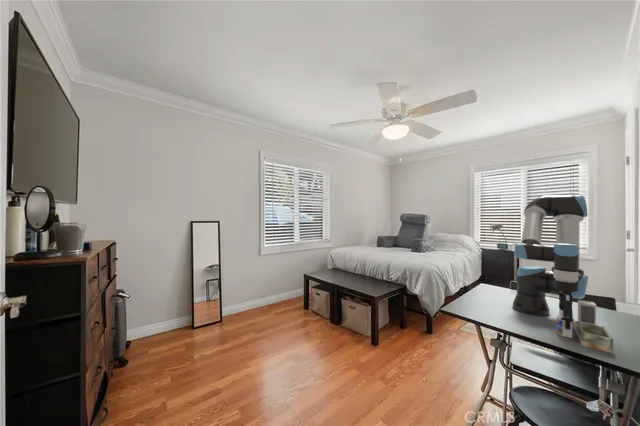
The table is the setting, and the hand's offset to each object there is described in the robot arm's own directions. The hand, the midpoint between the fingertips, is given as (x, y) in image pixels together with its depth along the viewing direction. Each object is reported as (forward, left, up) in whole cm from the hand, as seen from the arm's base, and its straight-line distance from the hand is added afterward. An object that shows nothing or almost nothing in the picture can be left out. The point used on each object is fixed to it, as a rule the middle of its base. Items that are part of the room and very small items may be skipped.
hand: (565, 330), depth 107 cm
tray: (+8, +5, -2) cm, 9 cm away
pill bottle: (0, 0, -2) cm, 2 cm away
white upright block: (+8, +14, 0) cm, 16 cm away
